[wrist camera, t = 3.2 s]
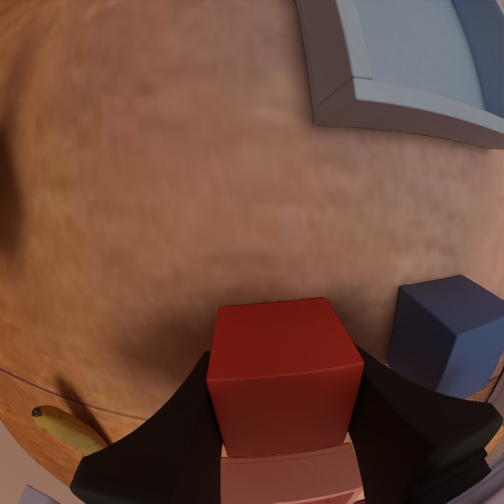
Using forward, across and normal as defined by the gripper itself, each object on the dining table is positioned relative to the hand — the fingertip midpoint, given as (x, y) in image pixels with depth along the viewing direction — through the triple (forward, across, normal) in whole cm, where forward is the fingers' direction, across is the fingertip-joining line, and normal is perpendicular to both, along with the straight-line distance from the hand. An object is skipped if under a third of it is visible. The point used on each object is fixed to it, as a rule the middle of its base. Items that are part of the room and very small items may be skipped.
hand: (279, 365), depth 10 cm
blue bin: (+1, -7, -14) cm, 16 cm away
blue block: (+1, -8, 0) cm, 8 cm away
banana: (+2, +13, +8) cm, 15 cm away
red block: (+1, 0, 0) cm, 1 cm away
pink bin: (+1, 0, +15) cm, 15 cm away
